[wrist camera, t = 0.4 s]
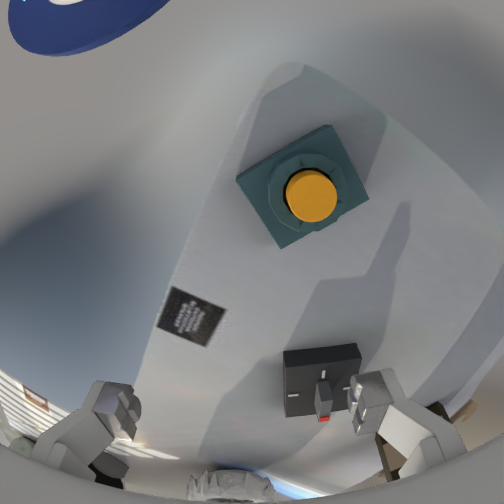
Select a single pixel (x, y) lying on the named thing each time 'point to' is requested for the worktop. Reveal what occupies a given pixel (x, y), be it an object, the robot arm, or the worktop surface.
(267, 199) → the teal button mount
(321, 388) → the grey rectangular block
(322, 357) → the dark grey flat block
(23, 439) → the planter
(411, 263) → the worktop surface
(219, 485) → the bowl
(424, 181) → the worktop surface
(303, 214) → the trigger button
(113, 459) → the alarm clock
